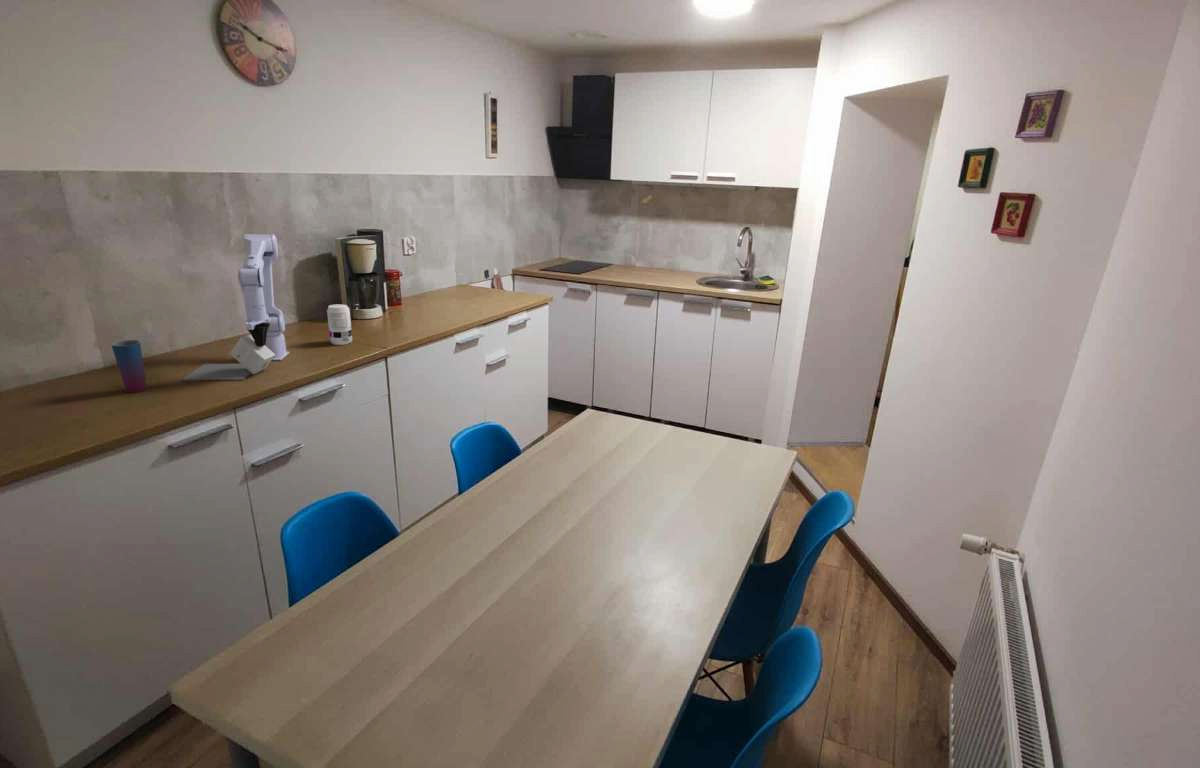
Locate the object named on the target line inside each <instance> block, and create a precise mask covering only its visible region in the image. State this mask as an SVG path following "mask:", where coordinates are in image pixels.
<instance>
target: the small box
mask: <svg viewBox="0 0 1200 768" xmlns="http://www.w3.org/2000/svg"><path fill="white" fill-rule="evenodd" d="M229 355H230V356H231V357H233V358H234V359H235V360H237V362H238V363H239V364H242V365H243V366H244V367H245V368H247V369H248V370H249V371H250V372H251V374H252V375H257V374H258V373H260V371H261V372H262V370H263V371H265V370H266V369H267V368H268V366H269V365H270V363H271V361H273V360H272V359H273V357H274V356H275V354H274V353H273V352H272V351H271V350H270V349H268V348H267V347H266V346H265V345H264V346H256V344H255V341H254V339H253V337H252V335H251V334H250V333H249V334H247V335H245V336H244V335H243V336H242V337H240V338H239V339H238V341H237V343H236V344H235V345H234V347H233V348H232V349H231V350H230V351H229Z"/></svg>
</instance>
